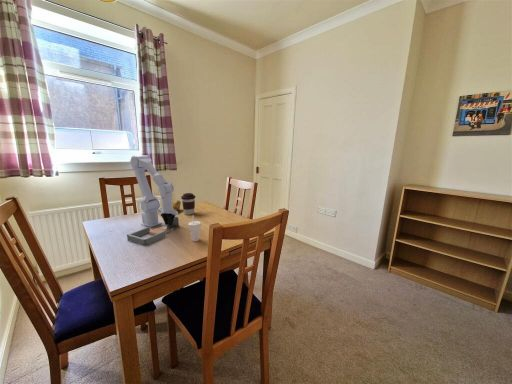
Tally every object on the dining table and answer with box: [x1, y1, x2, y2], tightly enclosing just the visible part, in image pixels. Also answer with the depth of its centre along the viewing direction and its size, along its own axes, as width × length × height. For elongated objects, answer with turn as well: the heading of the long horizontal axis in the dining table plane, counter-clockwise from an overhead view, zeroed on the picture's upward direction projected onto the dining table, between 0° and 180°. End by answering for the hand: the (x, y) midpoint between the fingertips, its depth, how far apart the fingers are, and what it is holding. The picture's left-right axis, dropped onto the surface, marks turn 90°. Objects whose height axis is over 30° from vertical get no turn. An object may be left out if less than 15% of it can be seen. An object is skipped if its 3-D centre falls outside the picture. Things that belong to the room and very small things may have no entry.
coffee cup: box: [180, 192, 196, 216], centre depth 159 cm, size 10×10×15 cm
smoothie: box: [187, 214, 201, 242], centre depth 115 cm, size 6×6×14 cm
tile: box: [148, 227, 169, 236], centre depth 124 cm, size 7×7×2 cm
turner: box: [159, 216, 180, 233], centre depth 132 cm, size 11×8×6 cm
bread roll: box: [172, 200, 182, 212], centre depth 163 cm, size 13×10×8 cm
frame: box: [126, 226, 167, 246], centre depth 117 cm, size 14×13×3 cm
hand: (169, 224), depth 131 cm, fingers closed on turner, 2 cm apart
